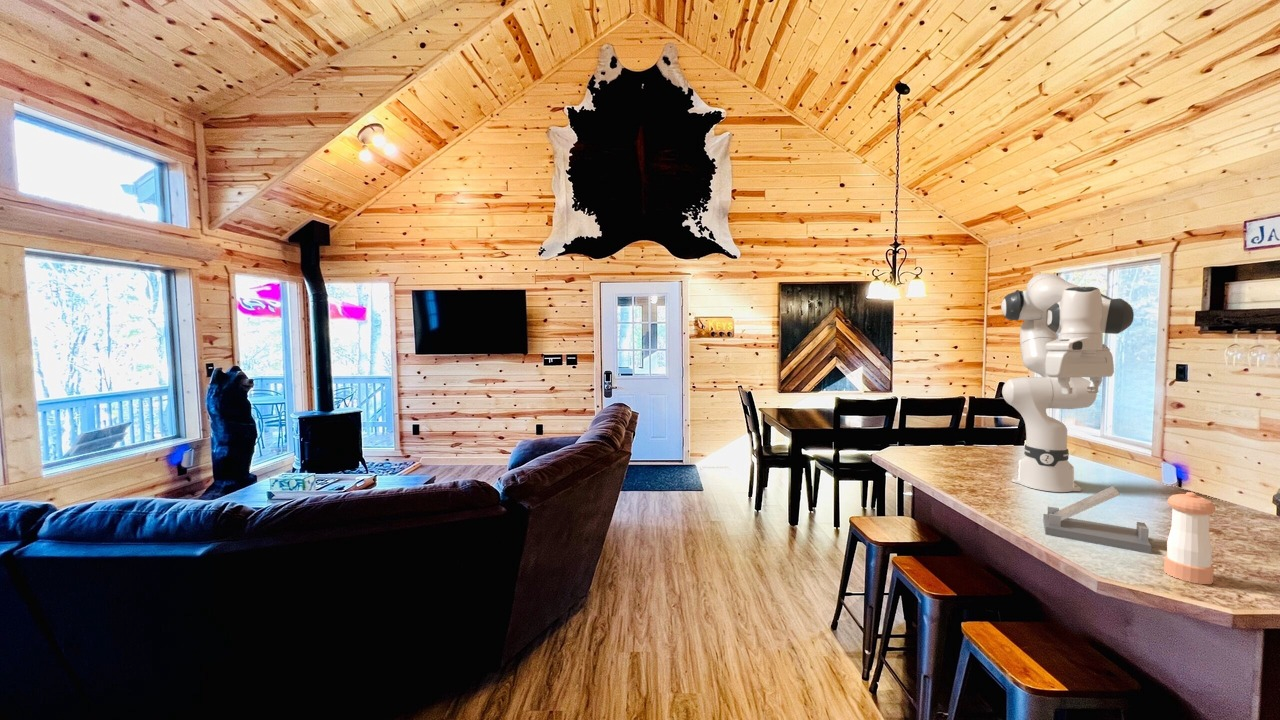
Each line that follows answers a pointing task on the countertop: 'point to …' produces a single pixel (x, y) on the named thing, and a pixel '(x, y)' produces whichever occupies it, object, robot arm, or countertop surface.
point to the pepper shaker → (1190, 539)
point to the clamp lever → (1087, 503)
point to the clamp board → (1097, 532)
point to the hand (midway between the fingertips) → (1079, 393)
